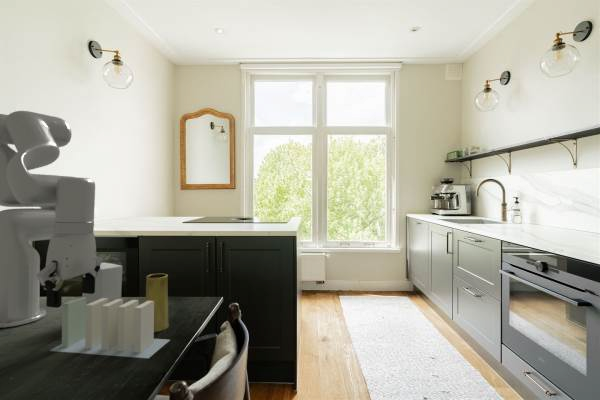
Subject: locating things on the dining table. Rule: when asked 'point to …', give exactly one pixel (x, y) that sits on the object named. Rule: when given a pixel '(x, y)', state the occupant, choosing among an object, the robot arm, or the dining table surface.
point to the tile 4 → (126, 325)
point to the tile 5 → (143, 326)
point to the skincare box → (106, 283)
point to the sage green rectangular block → (73, 321)
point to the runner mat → (113, 349)
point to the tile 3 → (110, 324)
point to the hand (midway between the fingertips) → (72, 299)
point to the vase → (158, 299)
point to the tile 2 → (94, 323)
